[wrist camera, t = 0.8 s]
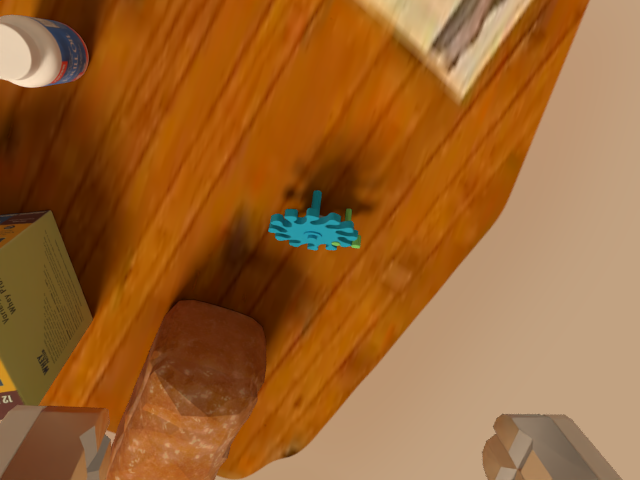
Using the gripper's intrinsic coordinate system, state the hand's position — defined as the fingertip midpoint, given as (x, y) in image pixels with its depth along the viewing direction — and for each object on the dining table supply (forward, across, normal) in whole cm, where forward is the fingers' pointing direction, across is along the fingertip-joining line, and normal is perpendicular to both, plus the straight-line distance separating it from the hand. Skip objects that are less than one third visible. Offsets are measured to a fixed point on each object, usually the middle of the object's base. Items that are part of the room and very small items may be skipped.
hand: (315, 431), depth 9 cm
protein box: (+41, +26, +21) cm, 53 cm away
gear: (+41, -4, +13) cm, 43 cm away
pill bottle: (+40, +21, -4) cm, 46 cm away
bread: (+41, +7, +37) cm, 56 cm away
